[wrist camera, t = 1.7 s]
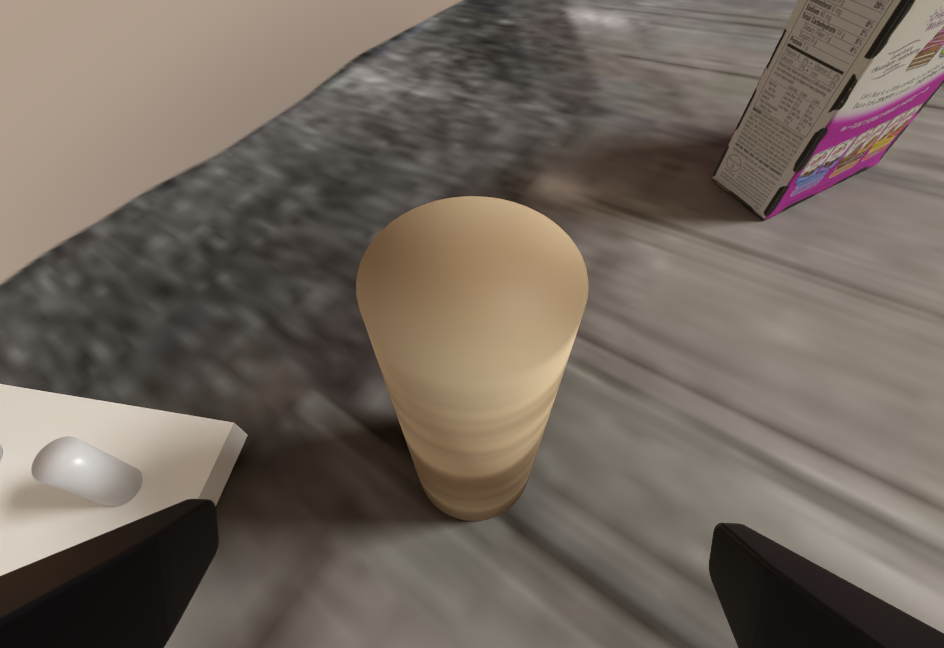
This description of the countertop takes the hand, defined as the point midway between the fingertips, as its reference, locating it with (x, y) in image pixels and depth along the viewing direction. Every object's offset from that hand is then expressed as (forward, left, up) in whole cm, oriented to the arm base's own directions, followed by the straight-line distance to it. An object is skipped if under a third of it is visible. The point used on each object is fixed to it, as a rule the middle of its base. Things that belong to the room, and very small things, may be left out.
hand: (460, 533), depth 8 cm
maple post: (+5, +1, -12) cm, 13 cm away
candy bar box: (+28, -17, -12) cm, 35 cm away
